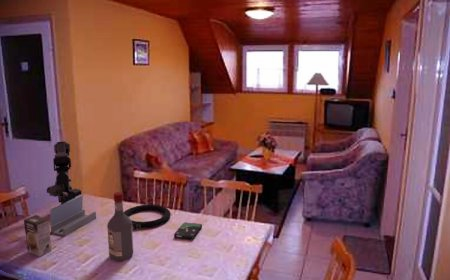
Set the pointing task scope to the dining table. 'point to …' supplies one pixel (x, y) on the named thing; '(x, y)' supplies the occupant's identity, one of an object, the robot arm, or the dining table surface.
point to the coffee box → (37, 235)
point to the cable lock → (148, 223)
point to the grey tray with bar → (72, 223)
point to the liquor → (120, 232)
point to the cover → (65, 210)
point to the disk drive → (188, 231)
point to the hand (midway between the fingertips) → (65, 206)
